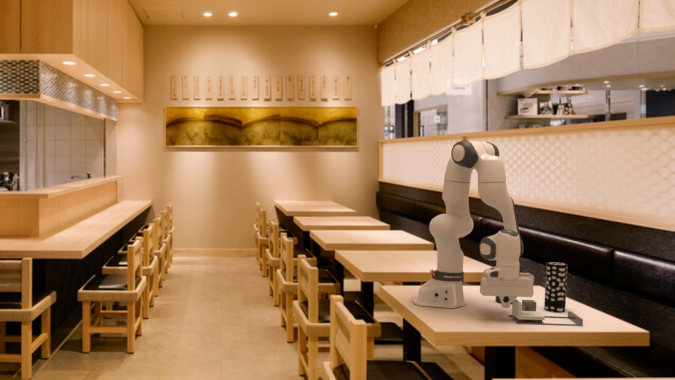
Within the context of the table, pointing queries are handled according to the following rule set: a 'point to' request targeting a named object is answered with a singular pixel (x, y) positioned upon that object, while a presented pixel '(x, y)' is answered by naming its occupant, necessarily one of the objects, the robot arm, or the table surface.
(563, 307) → the white-spotted black cylinder
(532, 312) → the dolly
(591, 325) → the table surface
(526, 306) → the steel block
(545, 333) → the table surface
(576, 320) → the track
